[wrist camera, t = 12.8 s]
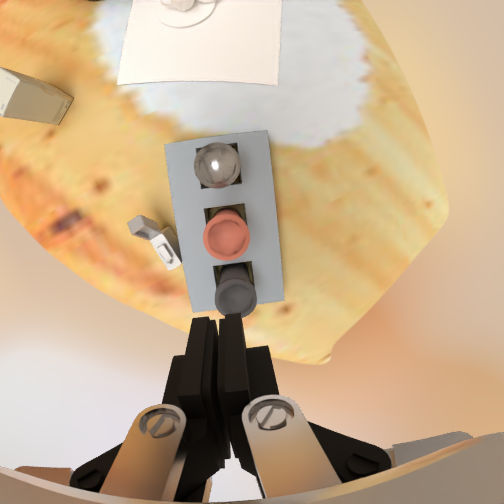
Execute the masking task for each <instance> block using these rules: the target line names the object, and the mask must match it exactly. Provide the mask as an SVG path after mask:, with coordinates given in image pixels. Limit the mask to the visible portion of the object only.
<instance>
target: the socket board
mask: <svg viewBox="0 0 504 504" xmlns="http://www.w3.org/2000/svg"><path fill="white" fill-rule="evenodd" d="M215 142H221V143H225V144H228V145H230V146H237V153H238V155H239V158H240V161H241V169H240V179H241V182H237V183H232V184H230V185H229V186H227V187H224V188H219V189H214V188H210V187H204V184H202V183H201V182H200V181H199V180H198V178H197V177H196V175H195V172H194V160H195V157H196V155H197V153H198V152H199V151H200V150H201V149H202V148H203V147H204V146H206V145H208V144H210V143H215ZM164 145H165V154H166V161H167V169H168V177H169V184H170V191H171V197H172V204H173V210H174V217H175V223H176V229H177V234H178V240H179V246H180V251H181V257H182V262H183V267H184V272H185V277H186V282H187V287H188V292H189V297H190V302H191V306H192V311H193V312H202V311H210V310H218V309H217V308H216V305H215V292H216V289H217V287H218V286H219V282H218V276H217V270H216V266H217V265H224V264H232V263H240V262H247V261H251V269H252V277H253V284H252V285H253V287H254V288H255V291H256V295H257V304H264V303H271V302H278V301H285V300H284V288H283V276H282V265H281V254H280V243H279V232H278V222H277V212H276V202H275V193H274V184H273V174H272V166H271V157H270V148H269V140H268V131H267V130H265V131H254V132H245V133H236V134H228V135H220V136H213V137H206V138H199V139H193V140H187V141H181V142H175V143H169V144H164ZM241 203H243V204H244V212H245V220H246V225H247V227H248V230H249V233H250V242H249V246H248V248H247V250H246V251H245V253H244V254H243V255H241V256H240V257H238V258H237V259H234V260H230V261H223V260H219V259H216V258H214V257H213V256H212V255H210V254H209V253H208V251H207V250H206V248H205V246H204V243H203V233H204V230H205V227H206V225H207V223H208V222H209V218H208V211H207V208H211V207H219V206H226V205H234V204H241ZM257 304H256V305H257Z"/></svg>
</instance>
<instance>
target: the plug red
mask: <svg viewBox="0 0 504 504" xmlns="http://www.w3.org/2000/svg"><path fill="white" fill-rule="evenodd" d="M249 242H250V233H249V230H248V227H247V225H246V223H245V222H244V221H243V220H242V219H241V216H240V214H239V213H238V212H237V211H236V210H234V209H232V208H222V209H220V210H218V211H217V212H216V213H215V214H214V216H213V218H212V219H211V220H210V221H209V222H208V223H207V225H206V227H205V230H204V233H203V243H204V246H205V248H206V250H207V251H208V253H209V254H210V255H212V256H213V257H214V258H216V259H219V260H223V261H230V260H234V259H237V258H238V257H240V256H241V255H243V254H244V253H245V251H246V250H247V248H248V246H249Z"/></svg>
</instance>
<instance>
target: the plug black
mask: <svg viewBox="0 0 504 504" xmlns="http://www.w3.org/2000/svg"><path fill="white" fill-rule="evenodd" d="M256 304H257V295H256V291H255V288H254V287H253V285H252V284H251V283H250V279H249V274H248V269H247V267H246V265H245V264H244V263H243V262H240V263H232V264H224V265H223V266H222V268H221V271H220V284H219V286H218V287H217V289H216V292H215V305H216V308H217V309H218V311H219V312H220V313H221V314H222V315H224V316H225V314H232V313H240V312H241V316H242V318H243V317H246V316H247V315H249V314H250V313H251V312H252V311H253V310H254V309H255V307H256Z"/></svg>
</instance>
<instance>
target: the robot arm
mask: <svg viewBox="0 0 504 504" xmlns="http://www.w3.org/2000/svg"><path fill="white" fill-rule="evenodd" d="M230 442H231V445H232V448H233V452H234V455H235V458H239V461H240V464H241V468H242V469H244V470H246V471H247V472H249V473H251V474H252V475H254V476H256V480H257V483H258V487H259V490H260V492H261V495H262V499H257V500H247V501H234V502H211V503H210V502H209V497H210V492H211V487H212V477H211V476H212V475H213V474H215V473H216V472H217V471H219V469H221V468H225V459H230V458H231V452H230ZM0 504H504V432H499V433H494V434H488V435H484V436H480V437H475V438H473V437H472V436H471V435H469V434H468V433H465V432H460V431H458V432H451V433H447V434H443V435H439V436H435V437H430V438H426V439H422V440H417V441H412V442H406V443H401V444H395V445H392V448H390V449H384V450H383V449H381V448H379V447H377V446H375V445H372V444H369V443H366V442H362V441H360V440H357V439H354V438H351V437H348V436H345V435H342V434H340V433H337V432H334V431H332V430H329V429H326V428H324V427H321V426H319V425H316V424H314V423H311V422H308V421H307V420H306V418H305V416H304V414H303V413H302V411H301V409H300V407H299V406H298V404H297V403H296V402H295V401H294V400H292V399H290V398H288V397H285V396H282V395H279V391H278V386H277V382H276V378H275V373H274V369H273V365H272V360H271V355H270V351H269V347H268V345H267V346H260V347H253V348H246V342H245V336H244V329H243V323H242V316H241V312H240V313H232V314H225V319H220V320H219V335H218V330H217V325H216V321H215V320H210V319H209V316H208V317H199V318H193V319H192V323H191V328H190V333H189V338H188V342H187V347H186V352H185V355H178V356H174V357H173V359H172V363H171V368H170V371H169V375H168V380H167V384H166V388H165V392H164V396H163V401H162V404H158V405H154V406H151V407H149V408H146V409H145V410H143V411H142V412H141V413H139V414H138V416H137V417H136V419H135V420H134V422H133V424H132V426H131V428H130V430H129V432H128V434H127V436H126V439H125V440H124V442H123V443H121V444H119V445H118V446H116V447H114V448H112V449H111V450H109V451H107V452H105V453H103V454H102V455H100V456H98V457H96V458H95V459H93V460H91V461H89V462H87V463H85V464H83V465H82V466H80V467H79V468H77V469H76V470H75V471H73V470H72V469H71V468H49V467H31V466H22V467H18V468H16V469H15V470H12V469H8V468H4V467H0Z"/></svg>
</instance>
